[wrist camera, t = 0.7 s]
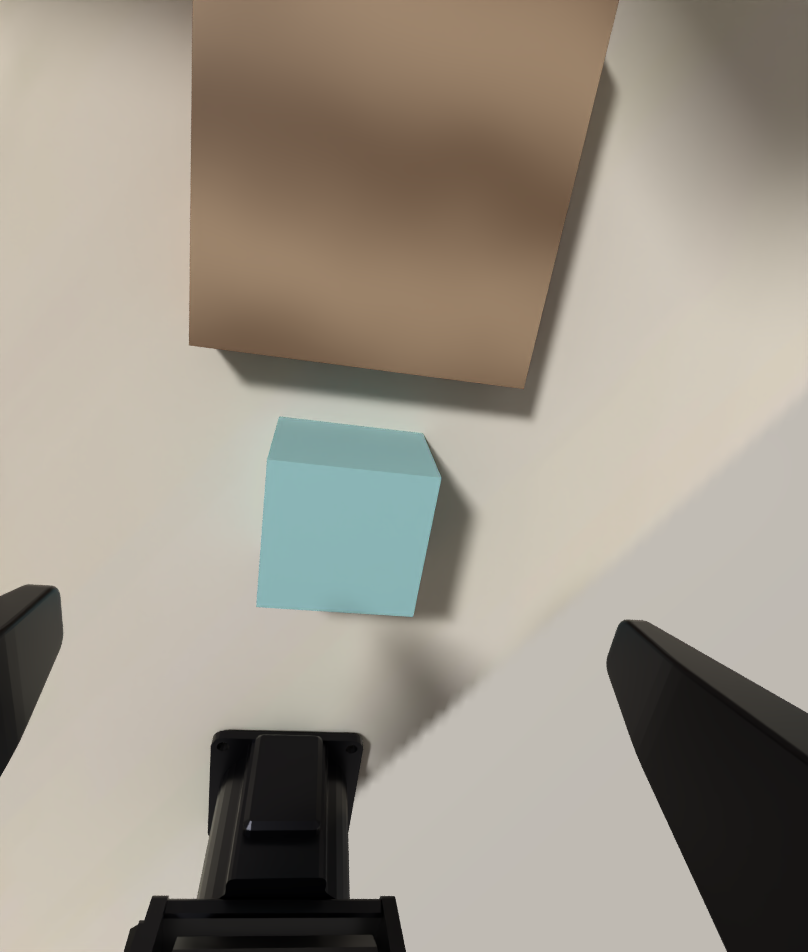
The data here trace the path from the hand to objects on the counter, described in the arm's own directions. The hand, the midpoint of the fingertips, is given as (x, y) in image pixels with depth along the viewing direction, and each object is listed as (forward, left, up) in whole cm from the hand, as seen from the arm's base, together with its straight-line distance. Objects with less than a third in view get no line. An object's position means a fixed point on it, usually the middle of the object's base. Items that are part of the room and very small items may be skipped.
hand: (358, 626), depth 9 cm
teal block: (-3, 0, -12) cm, 12 cm away
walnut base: (+7, 0, -11) cm, 13 cm away
